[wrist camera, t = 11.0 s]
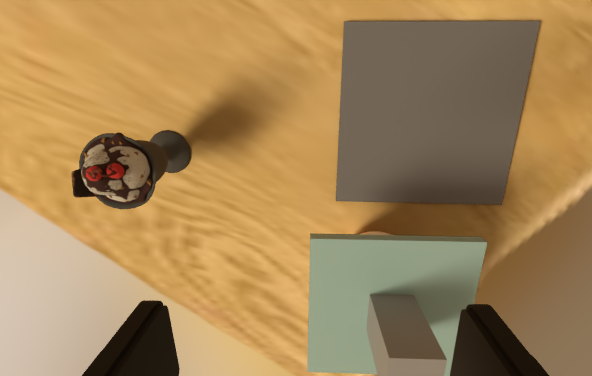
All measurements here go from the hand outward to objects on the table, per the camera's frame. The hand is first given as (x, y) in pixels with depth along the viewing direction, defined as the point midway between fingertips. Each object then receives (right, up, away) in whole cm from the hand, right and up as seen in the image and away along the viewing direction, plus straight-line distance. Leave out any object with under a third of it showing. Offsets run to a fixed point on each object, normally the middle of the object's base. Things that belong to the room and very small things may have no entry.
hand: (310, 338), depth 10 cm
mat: (+14, +12, +24) cm, 30 cm away
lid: (+8, -6, +20) cm, 22 cm away
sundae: (-15, +9, +26) cm, 32 cm away
